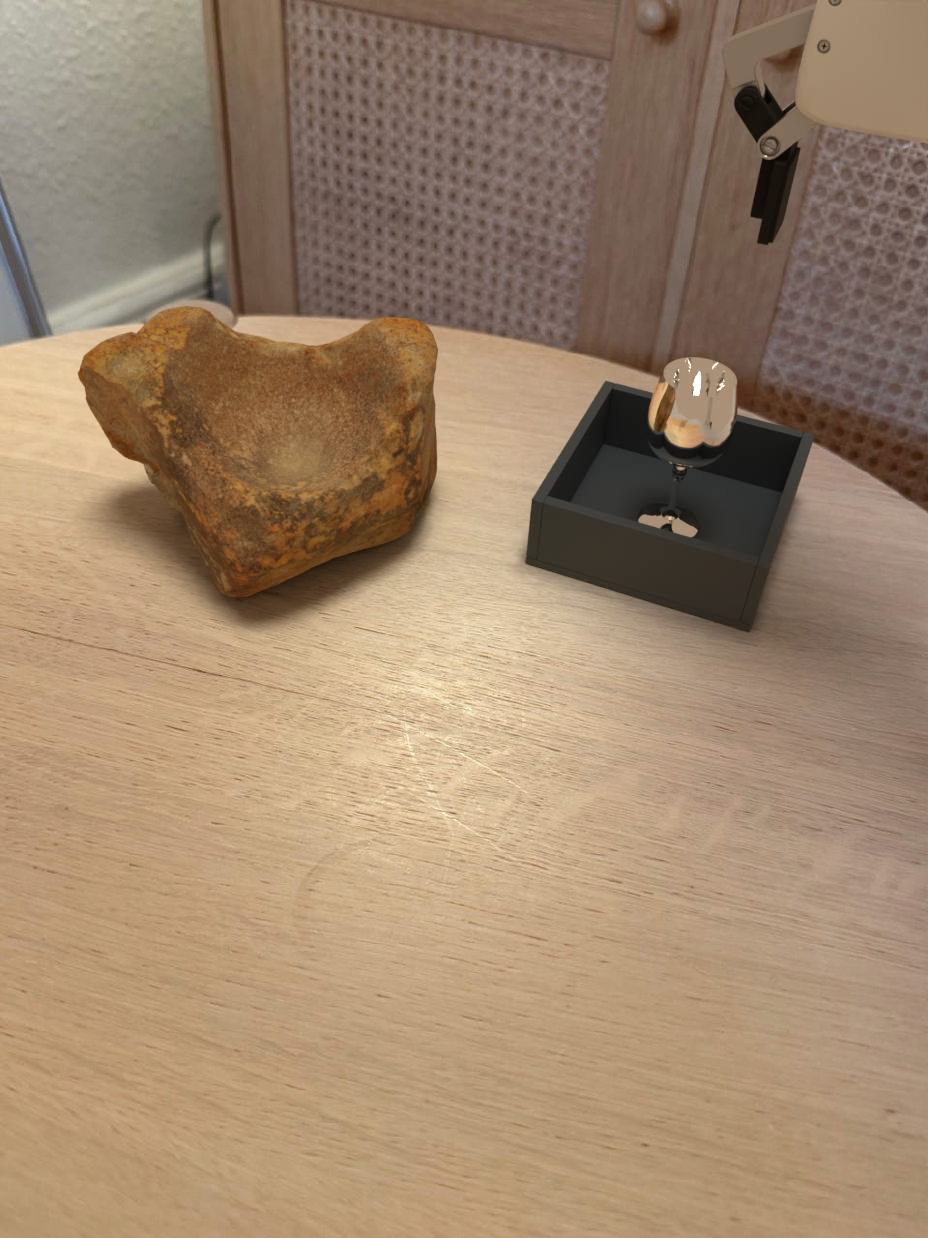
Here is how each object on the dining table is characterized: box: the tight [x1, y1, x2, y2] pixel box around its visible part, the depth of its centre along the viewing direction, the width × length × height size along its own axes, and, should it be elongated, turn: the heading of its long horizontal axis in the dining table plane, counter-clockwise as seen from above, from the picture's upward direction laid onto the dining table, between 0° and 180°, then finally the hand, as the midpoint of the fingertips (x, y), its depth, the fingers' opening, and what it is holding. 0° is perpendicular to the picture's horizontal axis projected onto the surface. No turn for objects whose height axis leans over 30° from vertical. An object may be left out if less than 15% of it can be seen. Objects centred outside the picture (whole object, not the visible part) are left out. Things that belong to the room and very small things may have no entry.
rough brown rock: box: [77, 305, 439, 598], centre depth 70 cm, size 23×17×15 cm
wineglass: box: [637, 356, 739, 538], centre depth 72 cm, size 6×6×12 cm
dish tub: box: [525, 380, 816, 633], centre depth 75 cm, size 16×16×6 cm
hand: (868, 253), depth 52 cm, fingers open, 9 cm apart
